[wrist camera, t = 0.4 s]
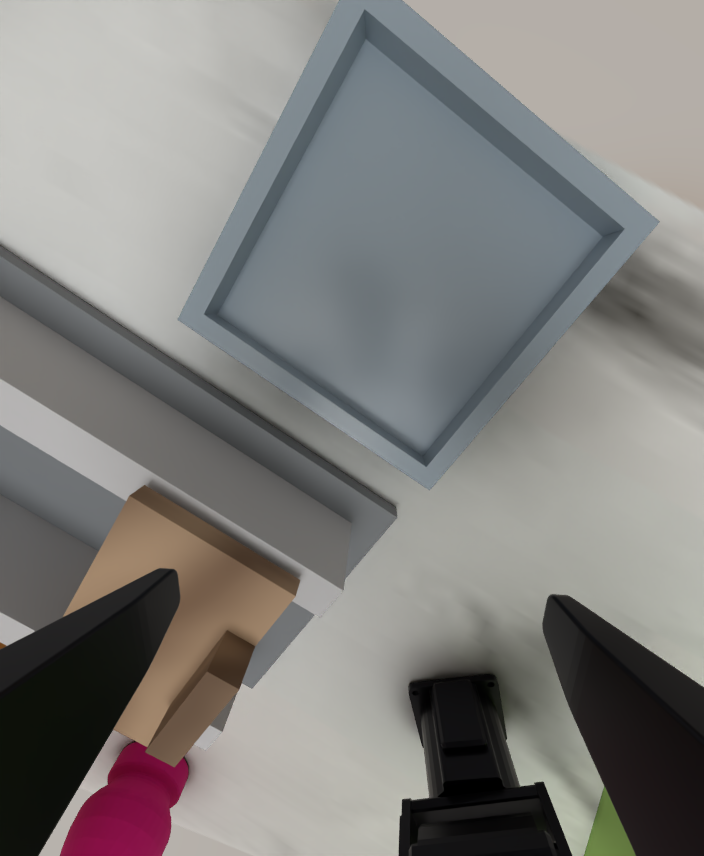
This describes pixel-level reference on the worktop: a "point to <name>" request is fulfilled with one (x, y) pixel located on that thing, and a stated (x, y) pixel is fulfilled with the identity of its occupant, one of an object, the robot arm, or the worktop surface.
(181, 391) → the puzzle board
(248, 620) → the walnut lid
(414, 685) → the robot arm
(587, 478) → the worktop surface
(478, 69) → the slate tray
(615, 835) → the green box
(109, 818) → the pepper mill
